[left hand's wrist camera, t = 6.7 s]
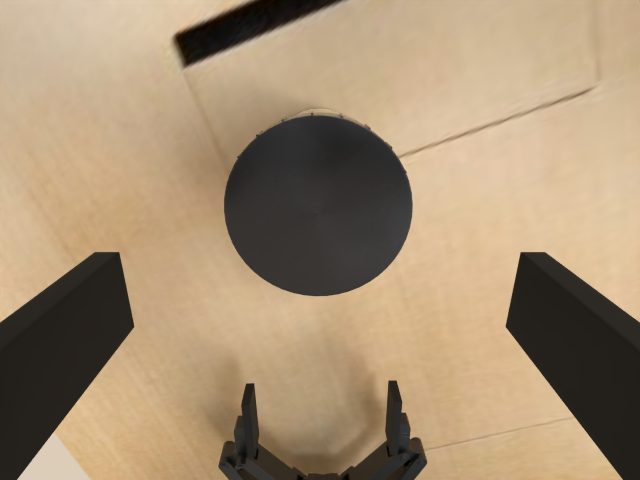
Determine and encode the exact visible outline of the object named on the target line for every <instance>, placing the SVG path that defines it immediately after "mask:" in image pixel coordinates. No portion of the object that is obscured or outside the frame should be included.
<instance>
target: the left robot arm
mask: <svg viewBox="0 0 640 480" xmlns="http://www.w3.org/2000/svg"><path fill="white" fill-rule="evenodd" d="M133 328H134V322H133V318H132V313H131V308H130V303H129V298H128V293H127V288H126V283H125V278H124V273H123V268H122V263H121V259H120V254H119V252H95V253H93V254H92V255H91V256H89V257H88V258H86V259H85V260H84V261H82V262H81V263H80V264H78V265H77V266H76V267H74V268H73V269H72V270H70V271H69V272H68V273H66V274H65V275H64V276H62V277H61V278H60V279H58V280H57V281H56V282H54V283H53V284H52V285H50V286H49V287H47V288H46V289H45V290H43V291H42V292H41V293H39V294H38V295H37V296H35V297H34V298H33V299H31V300H30V301H29V302H27V303H26V304H25V305H23V306H22V307H21V308H19V309H18V310H17V311H15V312H14V313H13V314H11V315H10V316H9V317H7V318H6V319H4V320H3V321H2V322H0V480H17V479H18V478H19V476H20V475H21V474H22V472H23V471H24V470H25V469H26V467H27V466H28V465H29V463H30V462H31V461H32V459H33V458H34V457H35V455H36V454H37V453H38V452H39V450H40V449H41V448H42V446H43V445H44V444H45V442H46V441H47V440H48V439H49V437H50V436H51V435H52V433H53V432H54V431H55V429H56V428H57V427H58V426H59V424H60V423H61V422H62V420H63V419H64V418H65V416H66V415H67V414H68V413H69V411H70V410H71V409H72V407H73V406H74V405H75V403H76V402H77V401H78V399H79V398H80V397H81V396H82V394H83V393H84V392H85V390H86V389H87V388H88V386H89V385H90V384H91V383H92V381H93V380H94V379H95V377H96V376H97V375H98V373H99V372H100V371H101V370H102V368H103V367H104V366H105V364H106V363H107V362H108V360H109V359H110V358H111V356H112V355H113V354H114V353H115V351H116V350H117V349H118V347H119V346H120V345H121V343H122V342H123V341H124V340H125V338H126V337H127V336H128V334H129V333H130V332H131V330H132V329H133ZM506 328H507V329H508V330H509V332H510V333H511V334H512V336H513V337H514V338H515V340H516V341H517V342H518V343H519V345H520V346H521V347H522V349H523V350H524V351H525V353H526V354H527V355H528V356H529V358H530V359H531V360H532V362H533V363H534V364H535V366H536V367H537V368H538V370H539V371H540V372H541V373H542V375H543V376H544V377H545V379H546V380H547V381H548V383H549V384H550V385H551V386H552V388H553V389H554V390H555V392H556V393H557V394H558V396H559V397H560V398H561V399H562V401H563V402H564V403H565V405H566V406H567V407H568V409H569V410H570V411H571V413H572V414H573V415H574V416H575V418H576V419H577V420H578V422H579V423H580V424H581V426H582V427H583V428H584V429H585V431H586V432H587V433H588V435H589V436H590V437H591V439H592V440H593V441H594V442H595V444H596V445H597V446H598V448H599V449H600V450H601V452H602V453H603V454H604V456H605V457H606V458H607V459H608V461H609V462H610V463H611V465H612V466H613V467H614V469H615V470H616V471H617V472H618V474H619V475H620V476H621V478H622V479H623V480H640V322H638V321H637V320H636V319H634V318H633V317H631V316H630V315H629V314H627V313H626V312H625V311H623V310H622V309H621V308H619V307H618V306H617V305H615V304H614V303H613V302H611V301H610V300H609V299H607V298H606V297H605V296H603V295H602V294H601V293H599V292H598V291H597V290H595V289H594V288H592V287H591V286H590V285H588V284H587V283H586V282H584V281H583V280H582V279H580V278H579V277H578V276H576V275H575V274H574V273H572V272H571V271H570V270H568V269H567V268H566V267H564V266H563V265H562V264H560V263H559V262H558V261H556V260H555V259H554V258H552V257H551V256H549V255H548V254H547V253H545V252H521V254H520V259H519V263H518V268H517V273H516V278H515V283H514V288H513V293H512V298H511V303H510V308H509V313H508V318H507V322H506Z"/></svg>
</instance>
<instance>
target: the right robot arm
mask: <svg viewBox="0 0 640 480" xmlns="http://www.w3.org/2000/svg"><path fill="white" fill-rule="evenodd" d="M241 407H242V416H238V418H237V421H236V425H235V429H234V436H235V443H234V442H232V441H226V442H225V443H224V446H223V450H222V454H221V458H220V462H219V469H220V470H221V471H222V472H223V473H224V474H225V475H226V477H227V478H228V479H229V480H414V479H415V478H416V477H417V475H418V474H419V473H420V472H421V470H422V469H423V468H424V467H425V466H426V464H427V459H426V456H425V453H424V449H423V446H422V442H421V440H420V439H419V438H417V437H415V438H412V439H411V440H410V425H409V421H408V417H407V415H406V413H401V410H402V399H401V396H400V392H399V388H398V385H397V381H389V382H388V398H387V414H386V430H385V432H386V437H387V441H386V442H384V443H383V444H382V445H381V446H380V447H378V448H377V449H376V450H375V451H374V452H373V453H371V454H370V455H369V456H368V457H367V458H365V459H364V460H363V461H362V462H361V463H359V464H358V465H357V466H356V467H355V468H354V467H353V466H351V467H349V468H348V469H347V470H346V471H345V472H343V473H342V474H341V475H340V476H338V473H330V474H325V475H320V474H308V476H305V475H304V474H303V473H302V472H300V471H299V470H298V469H297V468H295V467H293V468H292V469H291V468H290V467H288V466H287V465H286V464H284V463H283V462H282V461H280V460H279V459H278V458H277V457H275V456H274V455H273V454H271V453H270V452H269V451H268V450H266V449H265V448H264V447H262V446H261V445H260V444H259V443H258V438H259V428H258V418H257V408H256V398H255V388H254V383H251V384H246V387H245V391H244V395H243V400H242V404H241Z"/></svg>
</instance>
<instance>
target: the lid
mask: <svg viewBox="0 0 640 480" xmlns="http://www.w3.org/2000/svg"><path fill="white" fill-rule="evenodd" d="M370 129H371V128H370V127H369V126H368V125H366V124H365V125H363V124H361V123H359V122H358V121H356V120H353V119H351V118H348V117H346V116H343V115H342V114H341V113H340V114H339V115H338V114H334V113H325V112H314V111H311V113H304V114H298V115H295V116H292V117H288V118H287V117H284V118H283V119H282V120H281V121H279V122H277V123H275V124H274V125H272V126H271V127H269V128H268V129H266V130H265V131H264V132H263V130H262V131H261V132H260V133H258V134H257V135H256V136H257V138H255V139H254V140H253V141H252V142H251V143H250V144H249V145H248V146H247V147H246V148H245V150H244V151H243V152H242V153H241V154H240V155H239V156H238V157H237V158H238V159H237V161H236V162H235V164H234V166H233V169H232V171H231V173H230V175H229V178H228V181H227V185H226V190H225V197H224V213H225V221H226V226H227V229H228V233H229V236H230V238H231V240H232V243H233V245H234V247H235V248H236V250H237V252H238V254H239V255H240V256H241V258H242V259H243V260H244V262H245V263H246V264H247V265H248V266H249V267H250V268H251V269H252V270H253V271H254V272H255V273H256V274H257V275H259V276H260V277H261V278H263V279H264V280H266V281H267V282H269V283H271V284H272V285H274V286H276V287H279V288H281V289H283V290H286V291H289V292H292V293H296V294H301V295H309V296H329V295H336V294H341V293H344V292H348V291H351V290H353V289H356V288H359V287H361V286H363V285H364V284H366V283H368V282H370V281H371V280H373V279H374V278H376V277H377V276H378V275H380V274H381V273H382V272H383V271H384V270H385V269H386V268H387V267H388V266H389V265H390V264H391V263H392V261H393V260H394V259H395V258H396V256H397V255H398V253H399V252H400V250H401V248H402V246H403V244H404V242H405V240H406V238H407V235H408V232H409V229H410V224H411V219H412V207H413V203H412V192H411V188H410V183H409V180H408V177H407V174H406V173H407V172H406V170H405V169H404V167H403V166H402V164H401V162H400V160H399V158H398V157H397V156H396V154H395V153H394V152H393V150H392V147H391V146H390V145H389V144H388V143H387V142H384V141H383V140H382V139H381V138H380V137H379V136H378V135H377V134H376V133H374V132H373V131H372V130H370Z"/></svg>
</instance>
